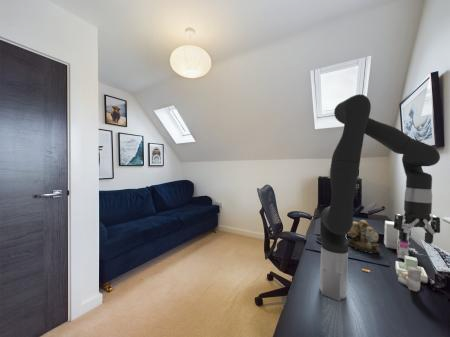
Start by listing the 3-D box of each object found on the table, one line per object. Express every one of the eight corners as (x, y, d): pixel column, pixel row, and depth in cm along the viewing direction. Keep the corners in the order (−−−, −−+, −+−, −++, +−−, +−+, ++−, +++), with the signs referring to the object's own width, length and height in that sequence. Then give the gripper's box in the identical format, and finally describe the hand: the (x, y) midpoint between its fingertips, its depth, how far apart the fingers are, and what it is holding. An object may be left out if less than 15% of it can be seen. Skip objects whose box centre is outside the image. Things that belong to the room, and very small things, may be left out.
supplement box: (401, 246, 126) (402, 222, 126) (405, 251, 119) (406, 226, 118) (383, 242, 131) (384, 220, 131) (385, 247, 123) (386, 223, 123)
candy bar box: (409, 261, 106) (411, 230, 106) (397, 258, 109) (398, 228, 109) (408, 254, 115) (409, 225, 114) (396, 251, 118) (397, 224, 117)
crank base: (418, 282, 86) (418, 278, 86) (421, 290, 80) (422, 285, 80) (362, 267, 98) (362, 263, 98) (361, 273, 92) (362, 268, 92)
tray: (427, 283, 85) (427, 276, 85) (397, 275, 91) (397, 268, 91) (422, 273, 93) (423, 267, 93) (395, 266, 99) (395, 260, 99)
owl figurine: (341, 244, 126) (342, 217, 126) (350, 241, 132) (351, 215, 132) (375, 256, 111) (376, 225, 111) (383, 251, 117) (384, 222, 117)
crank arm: (400, 273, 89) (401, 255, 88) (416, 277, 86) (417, 258, 85) (405, 290, 76) (406, 269, 76) (423, 295, 73) (424, 273, 73)
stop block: (416, 276, 89) (417, 261, 89) (404, 273, 92) (405, 258, 92) (415, 272, 93) (416, 257, 92) (404, 269, 95) (404, 255, 95)
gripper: (429, 199, 78) (427, 240, 79) (390, 197, 80) (388, 237, 81) (448, 203, 71) (446, 247, 71) (404, 201, 73) (402, 244, 73)
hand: (415, 242), depth 76 cm, fingers open, 8 cm apart
